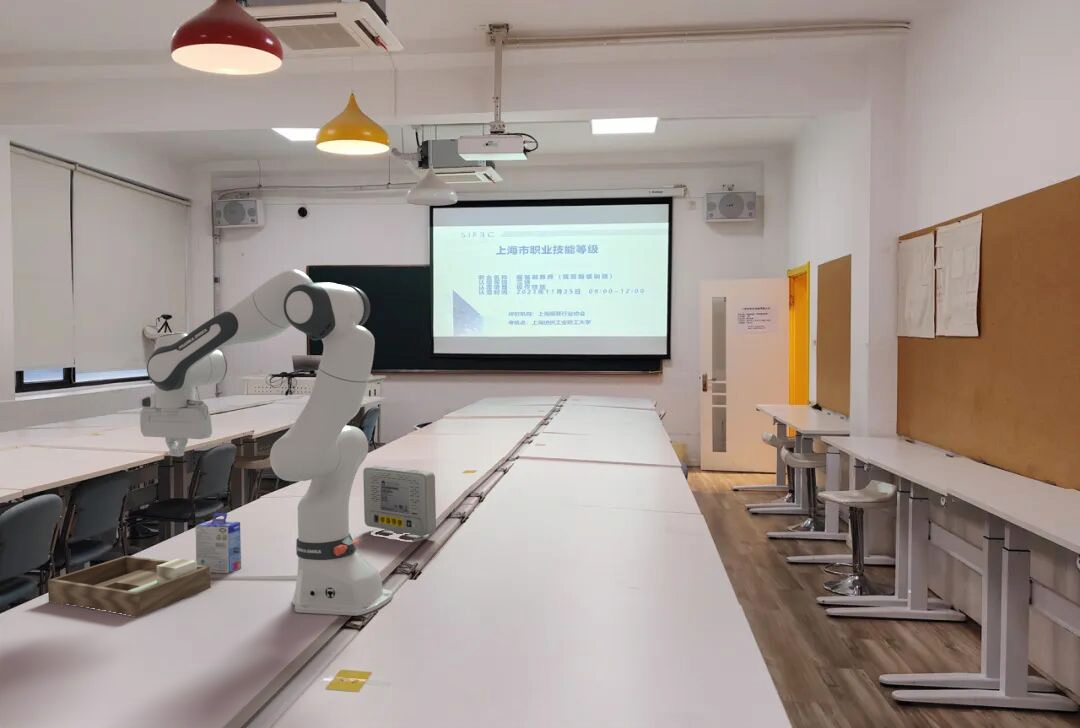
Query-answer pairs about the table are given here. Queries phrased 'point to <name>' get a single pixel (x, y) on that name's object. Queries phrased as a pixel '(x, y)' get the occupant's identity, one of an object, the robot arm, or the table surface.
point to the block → (175, 569)
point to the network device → (400, 500)
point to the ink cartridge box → (219, 545)
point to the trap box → (125, 586)
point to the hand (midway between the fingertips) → (177, 455)
